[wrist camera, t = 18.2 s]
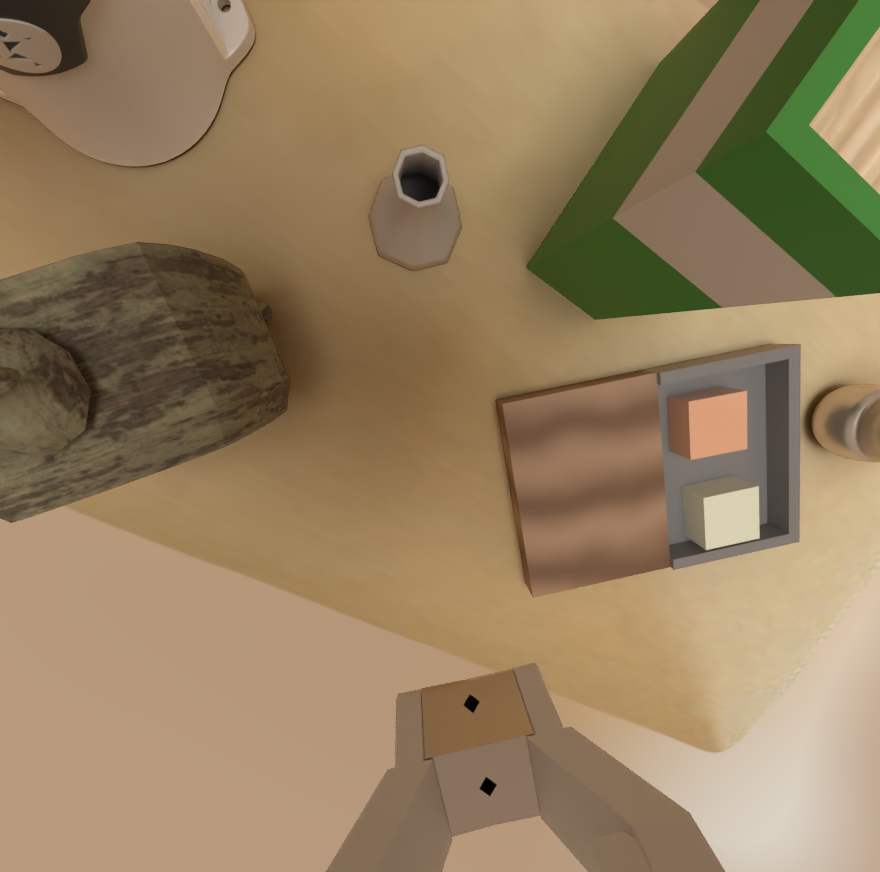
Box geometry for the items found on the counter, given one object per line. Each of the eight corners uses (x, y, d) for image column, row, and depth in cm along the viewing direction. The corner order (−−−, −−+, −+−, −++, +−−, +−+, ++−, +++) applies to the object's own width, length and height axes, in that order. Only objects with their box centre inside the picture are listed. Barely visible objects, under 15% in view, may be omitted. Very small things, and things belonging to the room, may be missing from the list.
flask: (371, 165, 33) (358, 92, 23) (465, 177, 34) (491, 112, 24) (366, 266, 34) (352, 238, 25) (456, 276, 35) (478, 252, 25)
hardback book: (660, 62, 33) (1285, -603, 10) (728, 127, 34) (1420, -319, 11) (526, 267, 35) (765, 131, 12) (595, 319, 37) (930, 288, 13)
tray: (640, 370, 38) (660, 373, 35) (770, 343, 39) (800, 344, 36) (655, 553, 42) (673, 569, 39) (772, 527, 43) (799, 541, 40)
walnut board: (495, 399, 38) (502, 404, 35) (640, 370, 38) (656, 372, 36) (525, 582, 42) (532, 597, 39) (655, 553, 42) (670, 566, 40)
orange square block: (666, 396, 38) (688, 401, 35) (720, 386, 38) (747, 390, 35) (669, 450, 39) (690, 460, 36) (722, 440, 40) (747, 448, 37)
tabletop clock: (278, 283, 34) (-31, 147, 10) (322, 391, 36) (162, 502, 12) (102, 345, 34) (-650, 363, 10) (158, 450, 36) (-344, 682, 12)
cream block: (681, 486, 40) (703, 498, 37) (733, 475, 40) (758, 486, 38) (684, 535, 41) (705, 550, 38) (734, 524, 42) (759, 538, 39)
